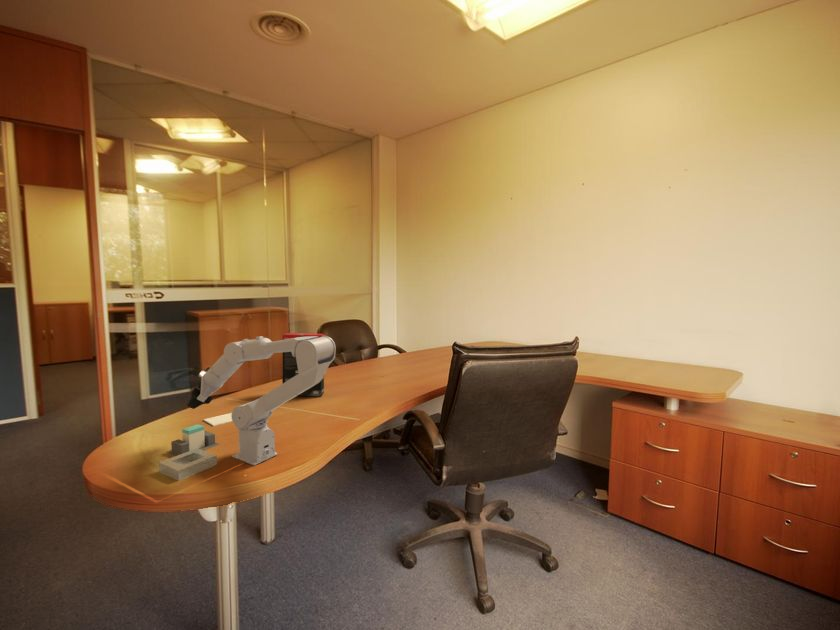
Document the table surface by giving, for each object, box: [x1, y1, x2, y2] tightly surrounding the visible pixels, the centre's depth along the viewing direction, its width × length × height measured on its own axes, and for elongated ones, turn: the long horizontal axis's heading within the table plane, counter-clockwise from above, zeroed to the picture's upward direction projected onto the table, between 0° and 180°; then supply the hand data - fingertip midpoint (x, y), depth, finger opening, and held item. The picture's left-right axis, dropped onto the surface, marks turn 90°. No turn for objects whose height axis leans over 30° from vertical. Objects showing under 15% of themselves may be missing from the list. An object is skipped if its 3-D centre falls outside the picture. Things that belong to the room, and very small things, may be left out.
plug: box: [181, 424, 205, 451], centre depth 112 cm, size 3×4×6 cm
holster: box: [166, 430, 220, 456], centre depth 112 cm, size 8×11×4 cm
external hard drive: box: [202, 412, 233, 427], centre depth 137 cm, size 2×8×12 cm
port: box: [158, 448, 218, 482], centre depth 100 cm, size 9×10×3 cm
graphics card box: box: [281, 332, 326, 398], centre depth 168 cm, size 17×7×27 cm, turn 94°
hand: (196, 397), depth 115 cm, fingers open, 7 cm apart
